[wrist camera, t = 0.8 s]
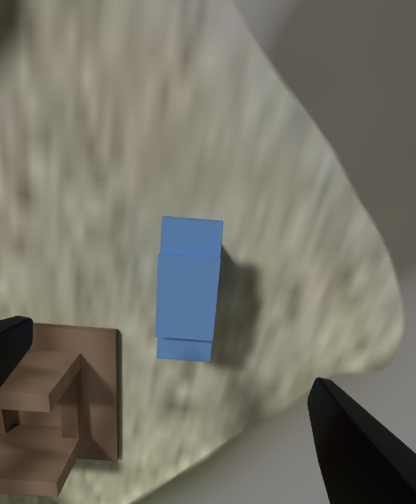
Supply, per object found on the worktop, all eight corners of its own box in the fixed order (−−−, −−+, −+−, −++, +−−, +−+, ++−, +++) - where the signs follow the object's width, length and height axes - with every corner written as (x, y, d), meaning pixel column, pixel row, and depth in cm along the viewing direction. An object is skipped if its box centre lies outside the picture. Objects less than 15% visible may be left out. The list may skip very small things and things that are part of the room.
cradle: (-25, 445, 25) (-80, 507, 21) (-50, 316, 22) (-124, 354, 17) (118, 455, 26) (97, 519, 21) (117, 329, 22) (91, 370, 17)
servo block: (169, 316, 22) (154, 365, 16) (174, 208, 19) (159, 218, 14) (209, 320, 22) (209, 369, 16) (219, 212, 19) (224, 224, 14)
